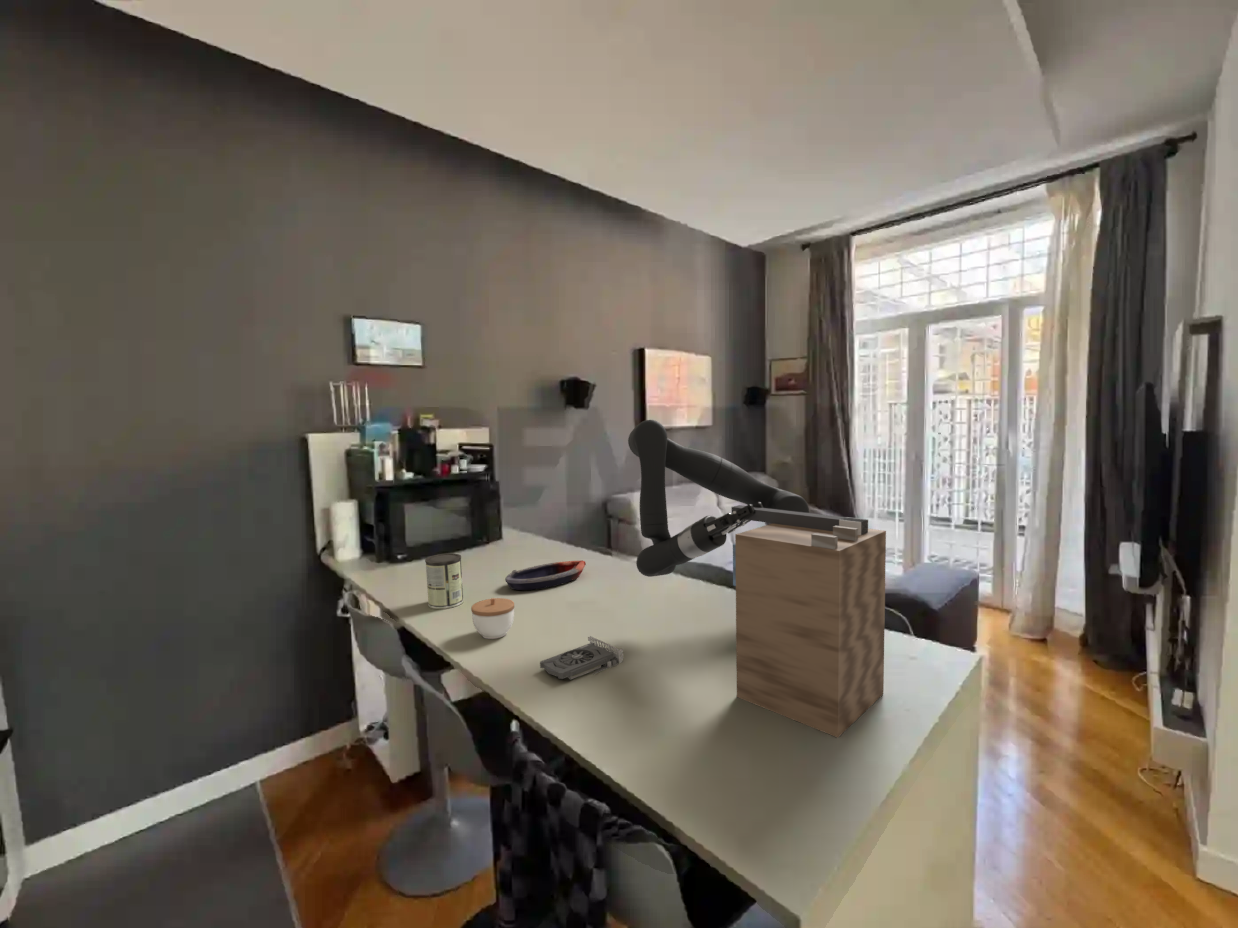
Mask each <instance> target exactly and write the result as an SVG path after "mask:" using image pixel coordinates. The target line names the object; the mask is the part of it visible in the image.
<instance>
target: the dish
mask: <svg viewBox="0 0 1238 928" xmlns="http://www.w3.org/2000/svg"><path fill="white" fill-rule="evenodd" d="M586 563H587V562H586V561H585V560H569V561H558V562H550V563H544V564H538V565H534V566H531V567H526V568H522V569H519V570H517V569H514V570H512V571H511V572H510V573H509V574H508V575H506V577H505V579H504V580H505V583H506V584H507V586H508V587H509V588H511V589H513V590H518V591H519V590H520V591H531V590H539V589H540V590H541V589H546V588H552V587H556V586H559V585H563V584H567V583H570V582H572V581H574V580H576V579H578V578H579V577H580V575H581V574H582V573H583V571H584V568H585V567H586V566H587V565H586Z"/></svg>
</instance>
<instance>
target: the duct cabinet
mask: <svg viewBox="0 0 1238 928" xmlns="http://www.w3.org/2000/svg"><path fill="white" fill-rule="evenodd" d="M886 544H887V530H882V529H876V528H868V533H865V534H863V535H858V528H851V527H843V526H833V531H826V530H819V529H811V528H804V527H796V526H789V525H781V524H774V523H768V524H766V525H763V526H760V527H755V528H753V529H749V530H745V531H741V532H738V533H735V543H733V544H732V586H734V587H735V636H736V638H735V640H736V641H735V642H736V644H735V645H736V649H735V650H736V651H735V655H736V658H735V659H736V660H735V661H736V698H739V699H741V700H744V701H746V702H748V703H751V704H754V705H755V706H759V707H761V708H762V709H763V708H764V709H766V710H768V711H771V712H773V713H776V714H778V715H781V716H782V717H786V718H788V719H790V720H793V721H796V722H799V723H800V724H803V725H805V726H808V727H811V728H813V729H815V730H818V731H820V732H822V733H825V734H828V735H831V736H833V737H835V738H837V739H838V738H839V737H840V736H841V735H843V734H844V733H845V732H846V731H847V730H848V729H849V728H850V727H851V726H852V725H853V724H854V723H855V722H856V721H857V720H858V719H859V718H860V717H861V716H862V715H863V714H865V712H867V710H869V708H870V707H872V706H873V705H874V704H875V703H876V702H877V701H878V700H879V699H880V698H881V697H882V696H883V695H884V683H885V681H884V679H885V677H884V675H885V672H884V671H885V621H886V620H885V618H886V616H885V613H886V610H885V609H886V557H887V556H886V554H887V553H886V551H887V550H886V548H887V546H886Z"/></svg>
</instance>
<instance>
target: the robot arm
mask: <svg viewBox="0 0 1238 928" xmlns="http://www.w3.org/2000/svg"><path fill="white" fill-rule="evenodd" d="M627 443H628V447H629V450H630V451H631V452H632V454H634V455H635V456H636V457H638V459H639V465H640V492H639V493H640V494H639V521H640V522H639V523H640V532H641V536H642V537H643V538H646V539H649V540H651V542H652V545H650V546H649V545H648V546H647V547H645V548H643V549H642V550H641V551H640V552H639V554H638V555H637V558H636V562H635V563H636V568H637V571H638V573H640V574H641V575H643V576H644V577H658V576H665V575H670V574H671V573H673V572H674V571H675V569H676V567H677V566H679V565H684V564H687V563H688V562H690V561H692V560H694V559H696V558H699V557H702V556H704V555H706V554H708V553H710V552H713V551H714V550H717V549H718V548H720V547H722V546H724V545H725V543H726V541H727V534H732V533H734V532H736V530H737V529H738V528H741V527H744V526H745V525H747V524H748V523H749V522H751V521H752V520H744V519H746V518H748V517H749V516H751V515H753V514H755V510H754V508H753V507H759V508H769V509H777V510H786V511H795V512H804V513H810V509H809V504H808V502H807V501H806V500H805V498H804V497H802V496H801V495H799V494H796V493H794V492H791V491H788V490H785V489H781V488H778V487H774V486H772V485H770V484H768V483H764V482H762V481H761V480H758V479H757V478H755V477H754V476H753V475H751V473H749V472H747V471H746V470H745V469H743V468H741V467H740V466H738V465H736V464H735V463H733V462H731V461H730V460H727V459H725V458H723V457H721V456H719V455H717V454H714V453H711V452H708V451H704V450H701V449H696V448H692V447H687V446H683V445H682V444H679V443H677V442H676V441H673V440H672V439H670V438H668V433H667V430H666V428H665V426H664V425H663V424H662V423H661V422H660V421H658V420H654V419H645V420H643V421H641V422H640V423H639V424H637V425H636V426H635V427H634V428H633V429H632V431H631V432H630V434H629V435H628V439H627ZM666 469H668V470H671V471H673V472H675V473H677V474H678V475H681V477H683V478H685V479H686V480H689V481H691V482H692V483H695V484H697V485H698V486H700V487H702V488H704V489H706V490H708V491H710V492H712V493H714V494H717V495H719V496H720V497H724V498H726V499H728V500H729V499H730V500H732V501H735V502H738V503H743V504H745V505H744V506H745V507H743V508H742V509H740V510H738V511H733V512H732V511H731V513H730V512H727V513H724V514H723V515H721V516H719V517H716V516H713V515H706V516H703V518H701V519H699V520H697V521H695V522H694V523H692V524H690V525H688V526H687V527H685V528H684V529H682V530H681V531H680V532H678V533H676V534H675V535H673V536H671V534H670V530H669V524H668V523H669V519H668V507H667V506H668V505H667V494H666V493H667V492H666Z"/></svg>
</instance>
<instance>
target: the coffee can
mask: <svg viewBox="0 0 1238 928" xmlns="http://www.w3.org/2000/svg"><path fill="white" fill-rule="evenodd" d="M424 561H425V570H426V571H425V572H426V573H425V574H426V587H427V599H428V602H427V605H428V608H430V609H433V610H444V609H446V610H447V609H451V608H455V607H458V606H460V605H462V604H463V602H464V591H463V590H464V589H463V576H462V575H463V572H462V555H461V554H458V553H449V552H448V553H440V554H434V555H431V556H428V557H426V558H425V559H424Z"/></svg>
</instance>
